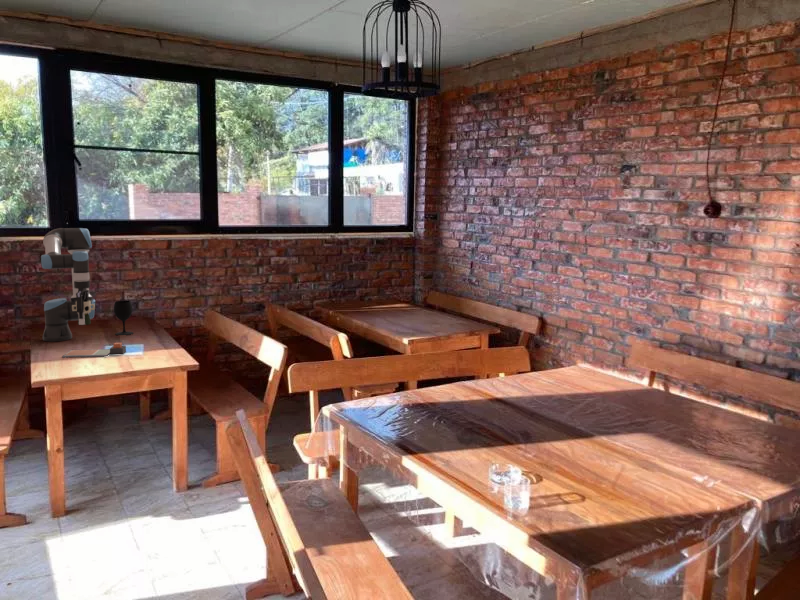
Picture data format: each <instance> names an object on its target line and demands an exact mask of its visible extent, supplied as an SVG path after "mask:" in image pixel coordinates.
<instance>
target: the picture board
mask: <svg viewBox="0 0 800 600" xmlns="http://www.w3.org/2000/svg"><path fill="white" fill-rule="evenodd" d="M109 354H110V348H99V349H98V348H97V349H96V348H94V349H93V348H91V349H86V348H85V349H70V350H69V351H68V352H66V353H64V354H63V355H62V356H61V358H62V357H63V358H62V359H69V358H68V357H81V358H105V357H104V356H108V355H109ZM109 356H110V355H109ZM109 356H108V357H109ZM65 357H66V358H65Z"/></svg>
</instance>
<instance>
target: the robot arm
mask: <svg viewBox="0 0 800 600" xmlns="http://www.w3.org/2000/svg"><path fill="white" fill-rule="evenodd" d="M42 242H43V243H42V244H43V247H44V249H45V254H42V255H41V256H40V260H41V268H42V269H43V270H47V269H48V270H54V269H55V270H56V269H59V270H61V269H71V279H72V280H71V281H72V295H71V297H70V300H67V298H65V297H63V298H55V299H50V300H47V301H45V302H44V304H43V305H44V306H43V311H44V324H45V325H44V330H43V334H42V341H44V342H62V341H68V340H71V339H73V333H72V331H71V329H70V326H69V321H78V316H79V325H78V326H84V325H85V316H84V302H87V300H89V301H91V304H94V305H95V306H96V299H95V298H93V296H92V294H91V293H90V287H91V281H90V278H91V275H90V265H89V263H90V261H89V260H90V259H89V258H90V257H89V252H90V249H92V247H93V245H92V244H93V243H92V238H91V234H90V231H89V229H88V228H83V227H69V228H68V227H66V228H64V227H59V228H55V229H52V230H51V231H48V232H47V233H46V234H45V235H44V237H43V240H42ZM62 249H67V252H68V253H67V254H64V253H63V254H62V251H61V250H62ZM76 301H77V311H72V305H76ZM91 308H93V306H91ZM74 309H76V307H74ZM95 312H96V311H95V310H91V312H90V313H88V314H89V316H90V320H92V319H93V318H94V317H95ZM85 326H86V325H85Z"/></svg>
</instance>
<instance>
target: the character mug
mask: <svg viewBox="0 0 800 600" xmlns="http://www.w3.org/2000/svg"><path fill="white" fill-rule="evenodd" d="M91 306H93V308H91ZM74 307H76V309H74ZM95 309H96V304H95V305H94V304H91V301H89V300H87V302H84V316H85V326H88V325H91V324H92V321H91V320H92V319H90V316H89V314H88V313H90V312H91V310H95ZM72 311H77V301H76V305H72ZM77 325H78V326H80V325H79V316H78V320H77Z"/></svg>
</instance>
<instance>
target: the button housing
mask: <svg viewBox="0 0 800 600" xmlns="http://www.w3.org/2000/svg"><path fill="white" fill-rule="evenodd" d="M109 349H110V354H123V355H125V354H126V353H127V346H126V345H122V348H114V345H113V346H111V347H110V348H109Z"/></svg>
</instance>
